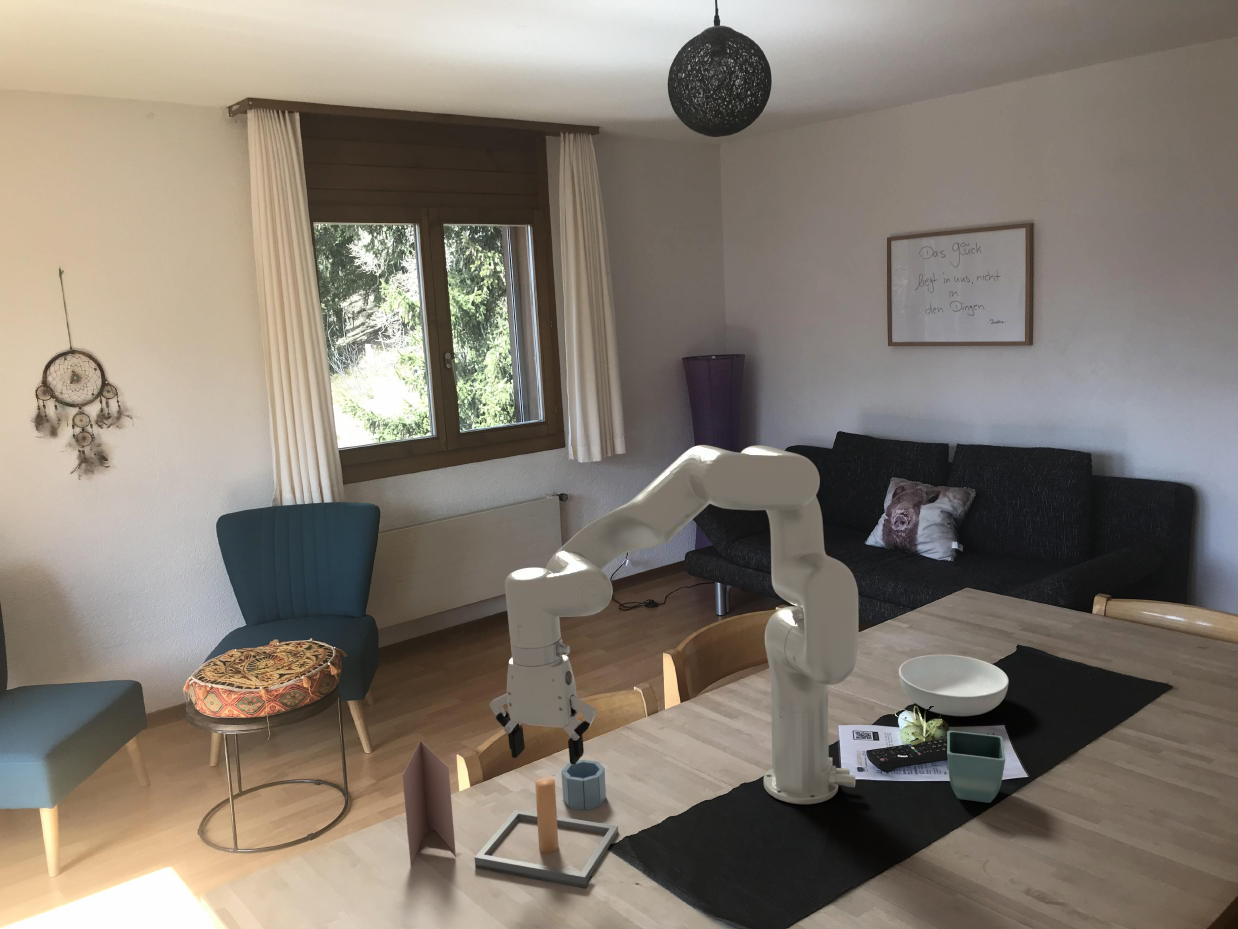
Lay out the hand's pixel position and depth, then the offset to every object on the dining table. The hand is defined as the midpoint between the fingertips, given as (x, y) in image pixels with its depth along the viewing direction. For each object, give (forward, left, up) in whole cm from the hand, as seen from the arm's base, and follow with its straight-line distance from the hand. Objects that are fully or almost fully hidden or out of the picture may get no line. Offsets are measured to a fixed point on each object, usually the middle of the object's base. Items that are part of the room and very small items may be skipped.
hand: (547, 757), depth 144 cm
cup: (+1, -15, -16) cm, 21 cm away
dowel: (0, 0, -15) cm, 15 cm away
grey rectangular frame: (+1, 0, -16) cm, 16 cm away
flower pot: (-61, -35, -16) cm, 72 cm away
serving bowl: (-57, -70, -16) cm, 92 cm away
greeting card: (+19, +3, -16) cm, 25 cm away
